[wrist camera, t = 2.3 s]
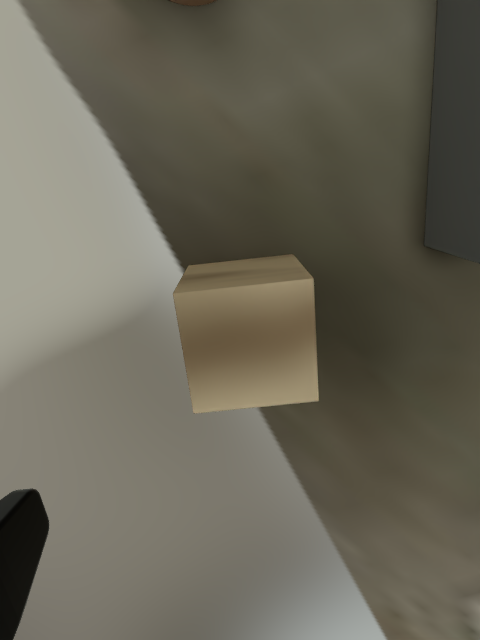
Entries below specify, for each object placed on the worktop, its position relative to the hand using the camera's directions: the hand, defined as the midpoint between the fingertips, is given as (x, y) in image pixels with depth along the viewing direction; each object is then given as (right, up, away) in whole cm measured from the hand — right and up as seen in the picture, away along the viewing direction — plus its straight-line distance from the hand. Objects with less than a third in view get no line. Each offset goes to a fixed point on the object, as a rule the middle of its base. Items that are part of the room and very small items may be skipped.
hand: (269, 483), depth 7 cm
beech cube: (0, +4, +12) cm, 12 cm away
